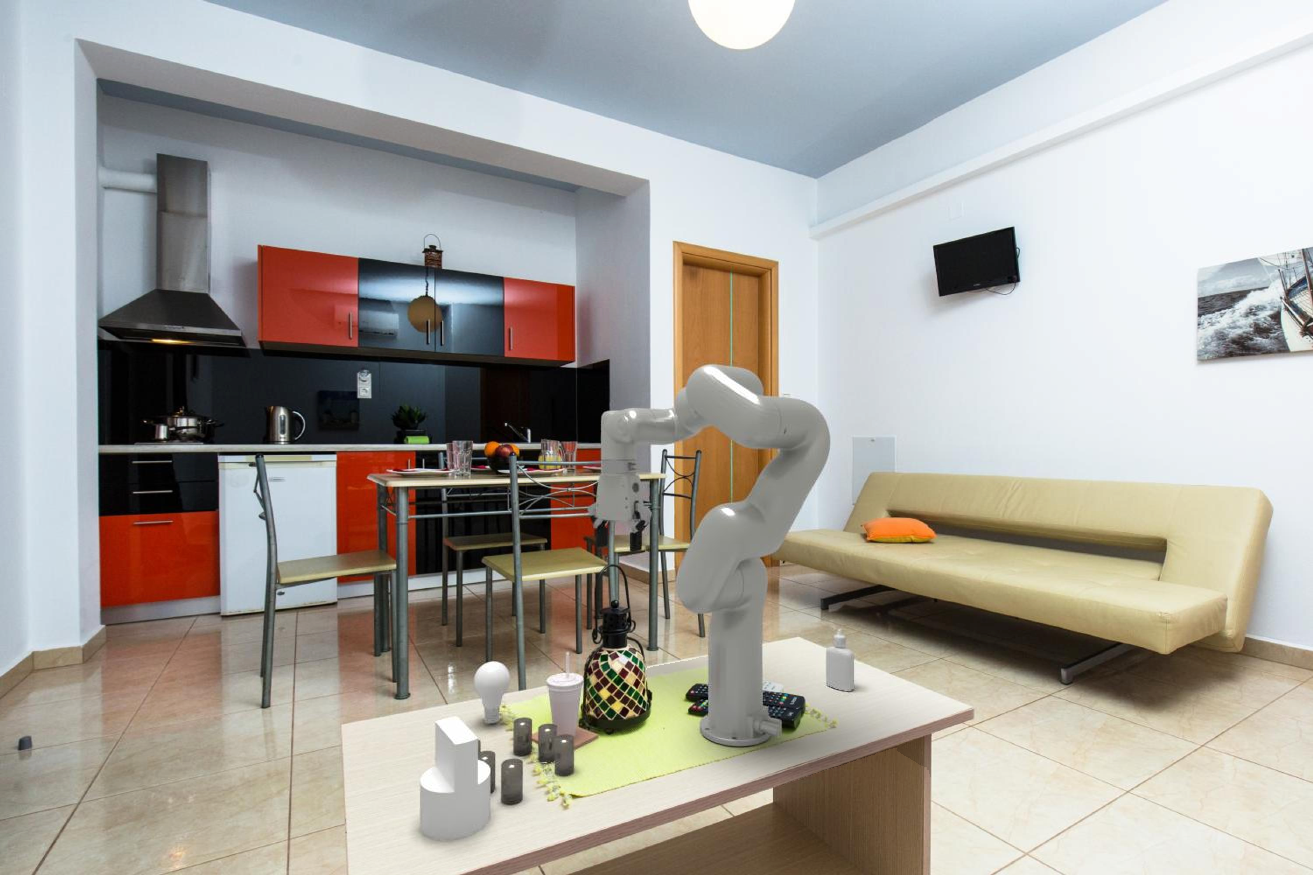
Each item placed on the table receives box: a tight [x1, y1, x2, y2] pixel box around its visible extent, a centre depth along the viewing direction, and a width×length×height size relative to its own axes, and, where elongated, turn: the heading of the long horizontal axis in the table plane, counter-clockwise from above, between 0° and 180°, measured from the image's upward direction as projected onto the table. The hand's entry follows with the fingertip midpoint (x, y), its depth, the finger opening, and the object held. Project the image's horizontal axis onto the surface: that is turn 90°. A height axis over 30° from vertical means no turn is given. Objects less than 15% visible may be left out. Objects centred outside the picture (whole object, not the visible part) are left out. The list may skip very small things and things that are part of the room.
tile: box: [532, 726, 599, 751], centre depth 109 cm, size 9×8×1 cm
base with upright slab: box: [419, 716, 491, 841], centre depth 85 cm, size 9×9×12 cm
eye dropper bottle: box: [825, 628, 855, 692], centre depth 132 cm, size 4×6×12 cm
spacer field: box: [478, 716, 575, 806], centre depth 97 cm, size 13×15×5 cm
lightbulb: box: [473, 661, 511, 725], centre depth 115 cm, size 6×6×11 cm
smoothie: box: [545, 652, 585, 738], centre depth 109 cm, size 6×6×14 cm
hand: (618, 548), depth 136 cm, fingers open, 9 cm apart
